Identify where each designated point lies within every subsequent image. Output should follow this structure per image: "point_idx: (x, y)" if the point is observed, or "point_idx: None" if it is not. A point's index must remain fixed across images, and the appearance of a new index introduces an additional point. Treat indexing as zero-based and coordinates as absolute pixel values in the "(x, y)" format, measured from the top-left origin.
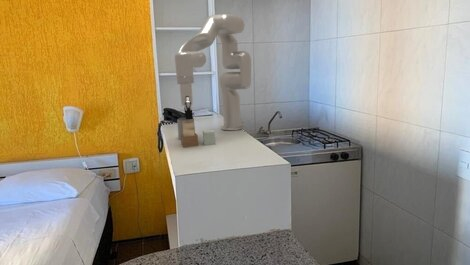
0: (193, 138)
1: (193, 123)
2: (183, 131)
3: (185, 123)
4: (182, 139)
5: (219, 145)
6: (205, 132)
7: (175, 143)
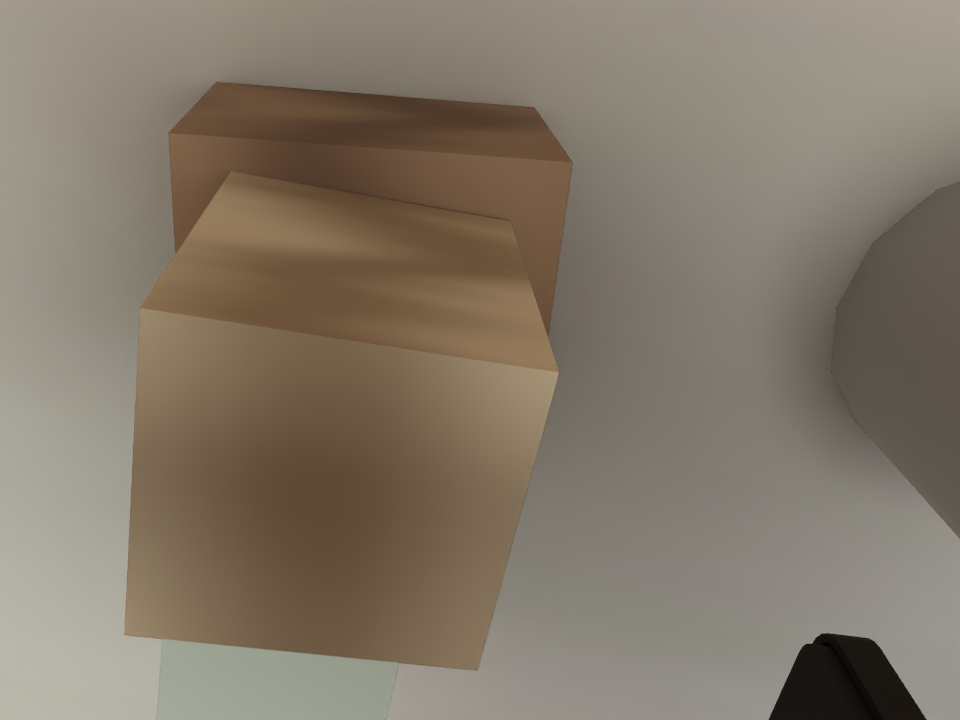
0: None
1: (128, 617)
2: (201, 220)
3: (142, 406)
4: (252, 121)
5: (99, 639)
6: (181, 651)
7: (688, 5)
